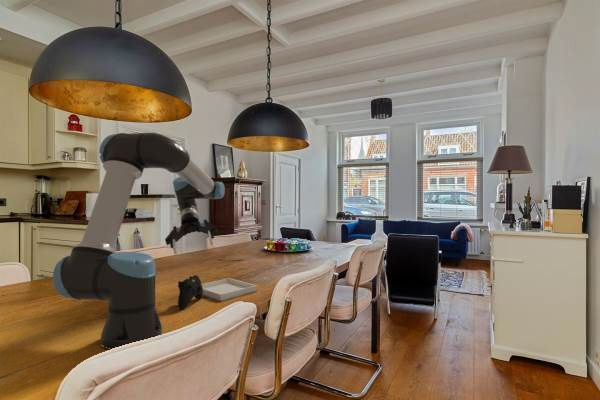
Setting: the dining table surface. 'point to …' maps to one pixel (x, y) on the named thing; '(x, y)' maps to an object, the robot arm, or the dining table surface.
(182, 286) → the gaming controller
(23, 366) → the dining table surface
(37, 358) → the dining table surface
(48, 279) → the dining table surface
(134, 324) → the robot arm
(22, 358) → the dining table surface
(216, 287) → the tray
